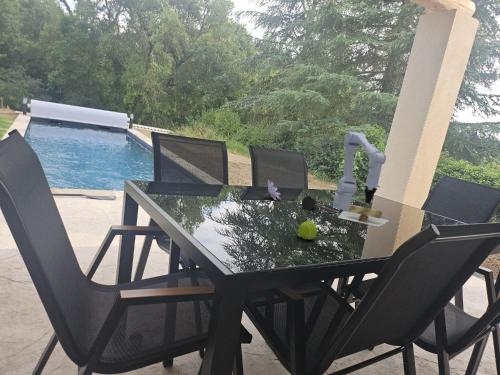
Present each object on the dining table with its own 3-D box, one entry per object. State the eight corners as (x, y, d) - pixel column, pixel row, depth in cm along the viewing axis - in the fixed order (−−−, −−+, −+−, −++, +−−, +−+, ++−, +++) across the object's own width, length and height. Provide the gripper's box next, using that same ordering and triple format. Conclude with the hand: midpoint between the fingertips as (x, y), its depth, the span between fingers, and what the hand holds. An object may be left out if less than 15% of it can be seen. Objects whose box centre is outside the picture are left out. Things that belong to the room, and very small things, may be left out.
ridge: (358, 220, 191) (359, 215, 191) (359, 217, 199) (361, 212, 198) (366, 222, 190) (367, 216, 189) (367, 219, 197) (368, 214, 197)
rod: (348, 211, 195) (349, 205, 194) (349, 210, 198) (350, 204, 197) (380, 218, 190) (382, 212, 189) (381, 217, 193) (382, 211, 192)
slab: (337, 218, 192) (337, 217, 192) (343, 211, 212) (343, 210, 212) (387, 229, 184) (387, 228, 184) (388, 221, 204) (388, 220, 204)
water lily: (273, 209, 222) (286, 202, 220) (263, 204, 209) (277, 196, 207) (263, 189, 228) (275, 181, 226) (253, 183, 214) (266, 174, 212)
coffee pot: (299, 207, 204) (304, 207, 212) (330, 219, 197) (334, 219, 205) (304, 194, 204) (308, 194, 211) (335, 206, 196) (339, 206, 204)
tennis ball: (303, 235, 153) (306, 218, 152) (318, 240, 149) (321, 223, 148) (294, 237, 148) (297, 220, 146) (309, 243, 143) (312, 225, 142)
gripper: (381, 178, 186) (375, 205, 188) (382, 176, 199) (377, 201, 201) (366, 176, 188) (360, 202, 190) (368, 173, 201) (363, 198, 204)
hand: (368, 202), depth 196 cm, fingers open, 7 cm apart
